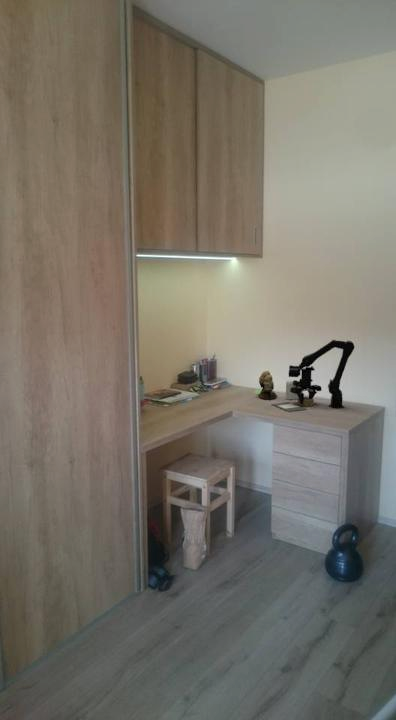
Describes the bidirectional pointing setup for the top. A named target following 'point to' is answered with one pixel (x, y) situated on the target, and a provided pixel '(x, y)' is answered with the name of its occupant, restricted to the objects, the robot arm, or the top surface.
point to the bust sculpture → (267, 386)
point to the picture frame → (288, 407)
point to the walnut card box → (306, 402)
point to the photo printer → (288, 386)
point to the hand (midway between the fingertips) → (305, 403)
